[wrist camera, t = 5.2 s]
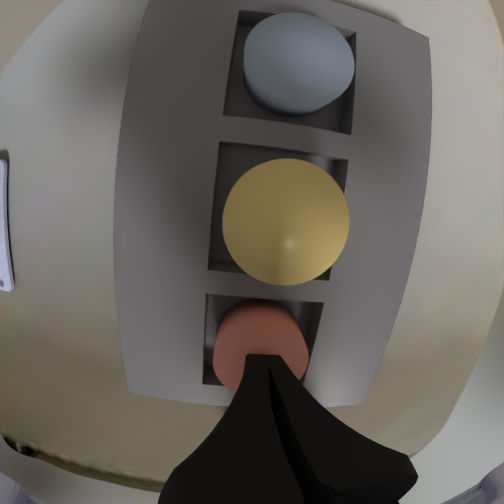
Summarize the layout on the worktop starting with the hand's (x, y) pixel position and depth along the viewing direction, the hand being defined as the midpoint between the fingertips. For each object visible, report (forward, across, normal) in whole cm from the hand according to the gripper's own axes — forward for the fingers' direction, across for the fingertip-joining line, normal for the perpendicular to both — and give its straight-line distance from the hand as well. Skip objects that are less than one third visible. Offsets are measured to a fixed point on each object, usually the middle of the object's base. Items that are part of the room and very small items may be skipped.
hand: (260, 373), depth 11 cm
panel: (+4, 0, -6) cm, 7 cm away
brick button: (+3, 0, 0) cm, 3 cm away
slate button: (+3, 0, -12) cm, 12 cm away
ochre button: (+2, 0, -6) cm, 6 cm away
